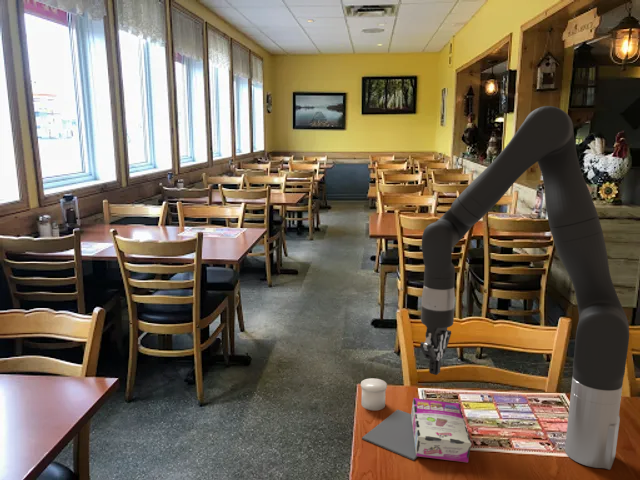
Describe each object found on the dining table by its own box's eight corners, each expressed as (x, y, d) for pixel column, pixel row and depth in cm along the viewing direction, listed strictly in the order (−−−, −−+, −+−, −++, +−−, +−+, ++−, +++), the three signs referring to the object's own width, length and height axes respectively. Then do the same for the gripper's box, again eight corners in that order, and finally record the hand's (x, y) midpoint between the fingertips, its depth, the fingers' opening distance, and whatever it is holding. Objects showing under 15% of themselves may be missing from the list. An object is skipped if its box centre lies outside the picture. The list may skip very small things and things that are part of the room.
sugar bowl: (391, 403, 133) (391, 383, 132) (377, 413, 128) (378, 392, 127) (369, 395, 137) (369, 376, 136) (355, 405, 132) (355, 385, 131)
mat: (446, 428, 122) (446, 426, 122) (413, 460, 109) (414, 458, 109) (397, 410, 129) (397, 409, 129) (362, 439, 117) (362, 437, 117)
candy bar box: (410, 416, 125) (414, 457, 110) (412, 397, 124) (417, 435, 108) (457, 421, 124) (468, 464, 108) (460, 402, 123) (471, 442, 107)
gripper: (441, 314, 115) (437, 387, 118) (463, 300, 126) (460, 367, 129) (410, 308, 120) (407, 378, 123) (434, 295, 130) (431, 360, 133)
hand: (434, 373), depth 126 cm, fingers closed
